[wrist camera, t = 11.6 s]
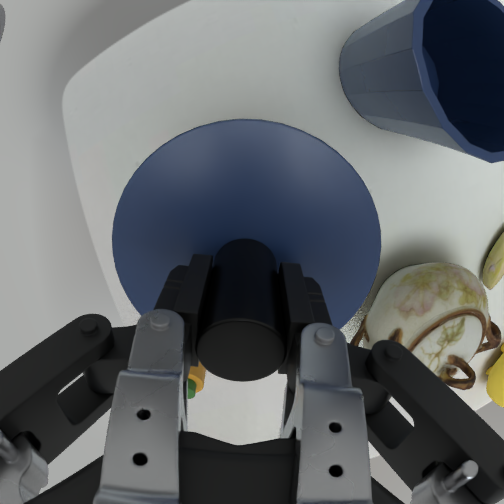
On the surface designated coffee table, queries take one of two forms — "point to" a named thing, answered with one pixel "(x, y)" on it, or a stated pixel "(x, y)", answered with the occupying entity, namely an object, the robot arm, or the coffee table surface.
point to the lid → (247, 234)
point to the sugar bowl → (433, 318)
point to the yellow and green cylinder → (195, 380)
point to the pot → (432, 73)
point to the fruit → (494, 264)
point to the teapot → (496, 380)
